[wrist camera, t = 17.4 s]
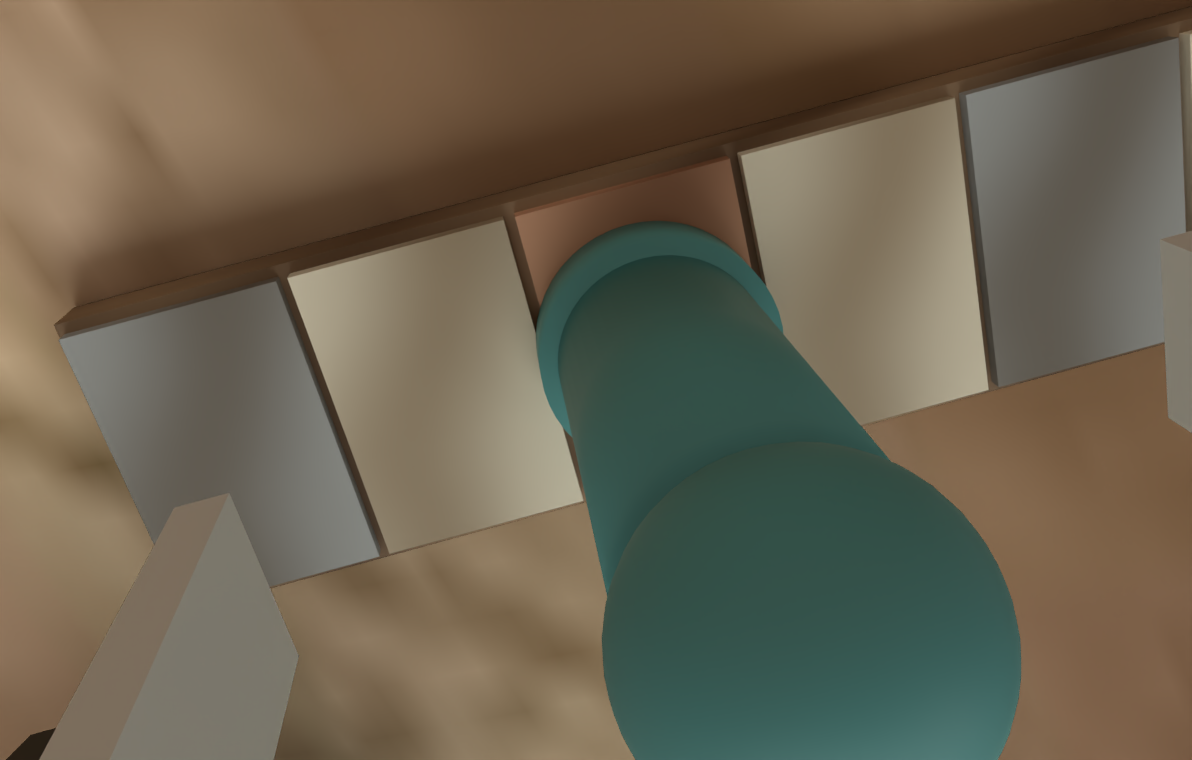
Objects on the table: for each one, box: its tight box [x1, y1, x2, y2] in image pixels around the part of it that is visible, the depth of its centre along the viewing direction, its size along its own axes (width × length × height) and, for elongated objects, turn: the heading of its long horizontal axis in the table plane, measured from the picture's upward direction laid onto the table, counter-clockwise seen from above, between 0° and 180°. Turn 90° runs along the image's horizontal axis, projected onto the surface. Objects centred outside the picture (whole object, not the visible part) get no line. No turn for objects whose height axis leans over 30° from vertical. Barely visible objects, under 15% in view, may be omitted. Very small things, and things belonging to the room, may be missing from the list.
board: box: [54, 6, 1192, 588], centre depth 20 cm, size 24×6×1 cm, turn 104°
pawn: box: [536, 221, 1021, 760], centre depth 14 cm, size 4×4×12 cm
